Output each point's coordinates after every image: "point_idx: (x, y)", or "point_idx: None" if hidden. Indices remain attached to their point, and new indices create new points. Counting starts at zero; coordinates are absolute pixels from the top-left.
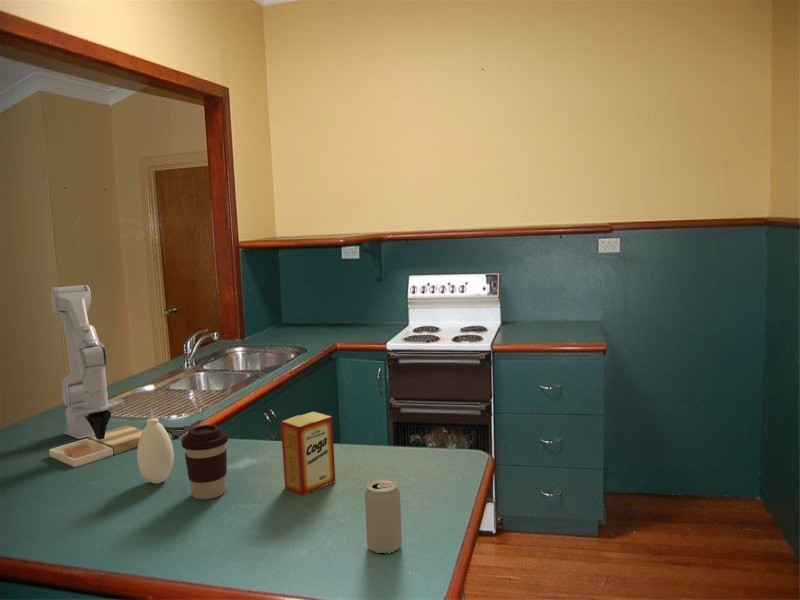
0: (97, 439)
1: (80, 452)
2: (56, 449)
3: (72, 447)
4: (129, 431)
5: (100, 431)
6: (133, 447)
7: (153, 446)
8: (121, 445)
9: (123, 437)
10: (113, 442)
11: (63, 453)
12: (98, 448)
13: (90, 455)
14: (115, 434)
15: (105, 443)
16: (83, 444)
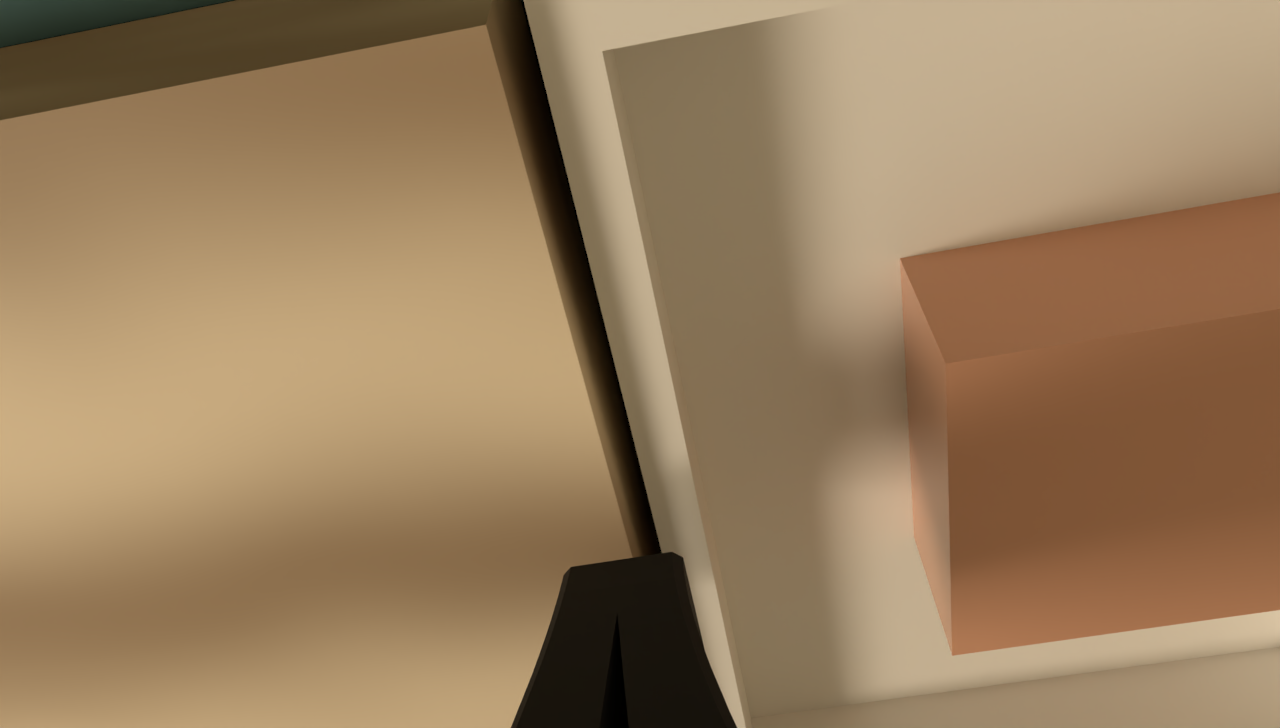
0: None
1: (1191, 284)
2: (1259, 717)
3: (1197, 563)
4: (15, 700)
5: (661, 707)
6: (11, 52)
7: None
8: (264, 51)
9: (154, 472)
10: (424, 301)
11: None
12: (692, 449)
13: None
14: (294, 708)
15: (591, 396)
16: (973, 582)
